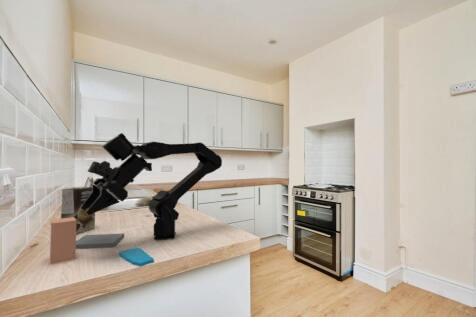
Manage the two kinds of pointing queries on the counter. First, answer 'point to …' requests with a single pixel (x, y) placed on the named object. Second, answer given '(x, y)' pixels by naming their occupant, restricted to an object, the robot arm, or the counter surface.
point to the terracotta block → (63, 240)
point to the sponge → (136, 257)
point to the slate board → (98, 241)
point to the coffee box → (77, 208)
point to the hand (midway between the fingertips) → (84, 211)
